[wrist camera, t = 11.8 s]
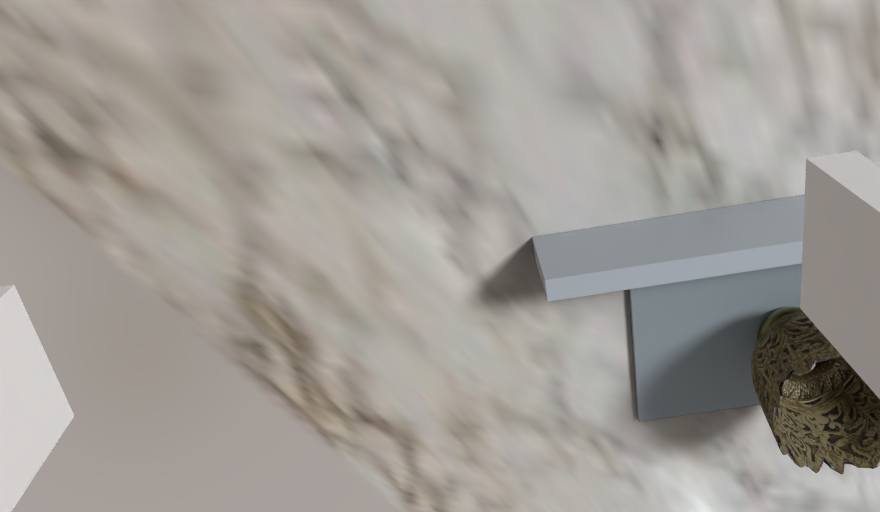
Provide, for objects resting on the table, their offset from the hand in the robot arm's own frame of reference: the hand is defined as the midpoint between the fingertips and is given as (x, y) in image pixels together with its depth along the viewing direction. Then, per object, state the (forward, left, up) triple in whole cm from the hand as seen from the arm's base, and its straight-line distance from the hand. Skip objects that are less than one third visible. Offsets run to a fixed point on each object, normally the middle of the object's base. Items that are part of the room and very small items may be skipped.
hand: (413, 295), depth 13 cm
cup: (+20, +17, -26) cm, 37 cm away
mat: (+20, +14, -27) cm, 36 cm away
